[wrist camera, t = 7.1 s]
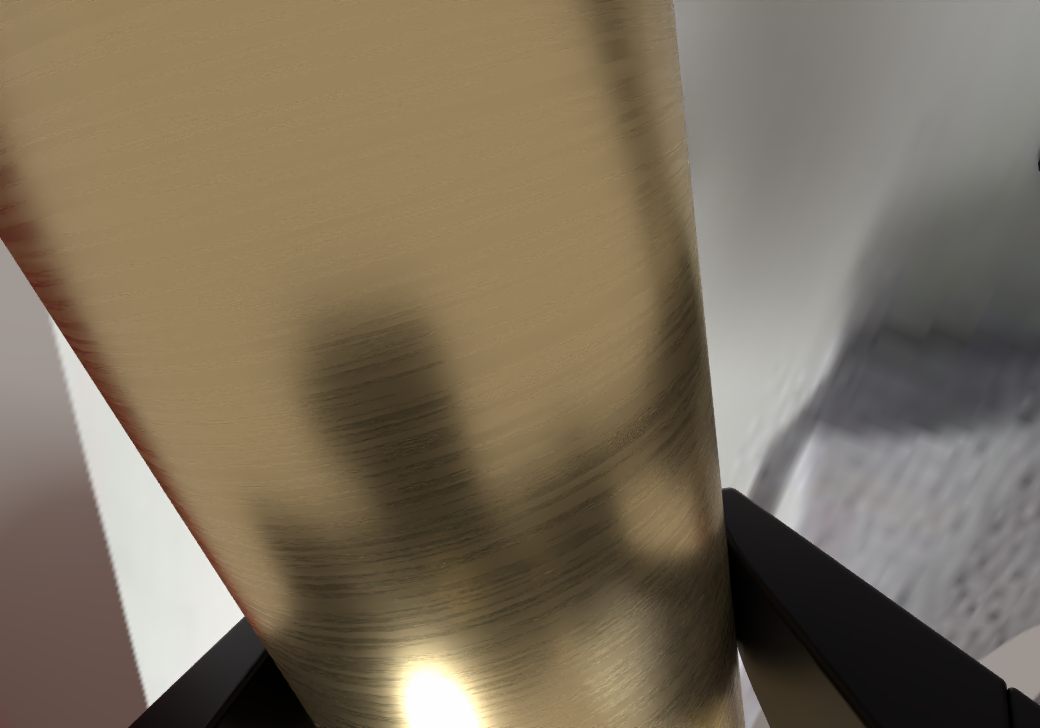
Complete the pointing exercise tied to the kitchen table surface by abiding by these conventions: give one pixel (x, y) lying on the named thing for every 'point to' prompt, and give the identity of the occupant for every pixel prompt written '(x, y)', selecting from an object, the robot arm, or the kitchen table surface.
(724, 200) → the kitchen table surface
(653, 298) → the tube
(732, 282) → the kitchen table surface
